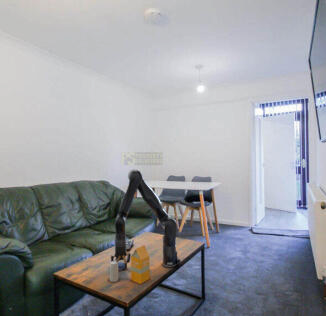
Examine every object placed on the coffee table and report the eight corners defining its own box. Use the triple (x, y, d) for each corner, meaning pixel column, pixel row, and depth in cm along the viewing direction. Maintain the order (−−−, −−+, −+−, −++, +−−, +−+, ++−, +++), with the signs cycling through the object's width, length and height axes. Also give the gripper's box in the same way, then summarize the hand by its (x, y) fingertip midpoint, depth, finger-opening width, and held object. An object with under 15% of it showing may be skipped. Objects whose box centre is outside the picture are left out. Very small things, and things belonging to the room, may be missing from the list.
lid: (115, 265, 168) (115, 262, 168) (124, 264, 169) (124, 261, 169) (116, 269, 162) (116, 266, 162) (125, 268, 163) (125, 265, 163)
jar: (116, 277, 155) (116, 260, 155) (119, 280, 150) (119, 263, 150) (108, 278, 153) (108, 261, 153) (111, 282, 148) (110, 265, 148)
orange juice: (131, 280, 151) (130, 247, 151) (140, 275, 157) (139, 243, 158) (140, 284, 146) (140, 250, 146) (149, 278, 152) (149, 246, 153)
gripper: (111, 247, 159) (111, 273, 159) (132, 245, 165) (132, 270, 165) (108, 244, 166) (108, 269, 166) (128, 241, 172) (128, 265, 171)
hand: (120, 269), depth 165 cm, fingers closed on lid, 6 cm apart
